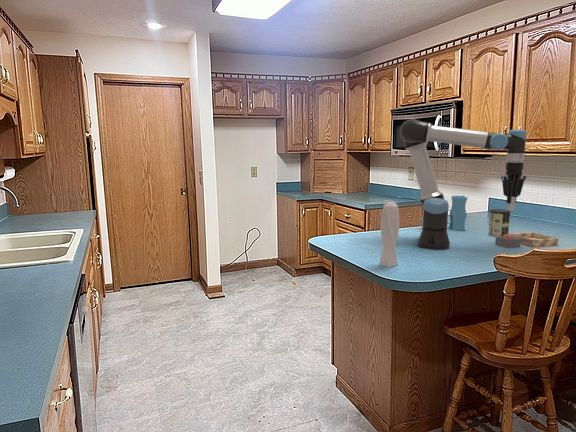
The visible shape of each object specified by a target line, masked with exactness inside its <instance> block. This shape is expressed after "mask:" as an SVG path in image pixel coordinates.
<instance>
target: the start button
mask: <svg viewBox="0 0 576 432" xmlns="http://www.w3.org/2000/svg"><path fill="white" fill-rule="evenodd" d="M503 238H505V239H513V235H507V234H505V235H504V236H503Z"/></svg>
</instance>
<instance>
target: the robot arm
mask: <svg viewBox="0 0 576 432" xmlns="http://www.w3.org/2000/svg"><path fill="white" fill-rule="evenodd" d="M399 136H400V138H401V140H402V141H403V146H404V149H405V150H406V151H408V152H409V155H410V158H411V162H412V166H413V169H414V173H415V175H416V179H417V183H418V186H419V189H420V193H421V197H420V203H421V207H422V227H421V228H422V229H421V233H420V235H419V237H418V240H417V246H418V247H420V248H423V249H428V250H437V251H438V250H447V249H450V245H451V243H450V239H449V238H450V237H449V235H448V219H449V218H448V217H449V208H450V205H449V201H448V200H446V199H445V197H444V194H443V193H444V192H442V191H440V190H439V186H438V183H437V179H436V176H435V173H434V169H433V166H432V163H431V159H430V156H429V153H428V150H427V146H428V143H429V142H434V143H440V144H441V143H442V144H450V145H456V146H465V147H470V148H471V147H472V148H480V149H482V150H488V151H489V150H492V151H493V150H494V151H501V150H507V151H506V164H505V170H506V172H505V174H504V175H502V176H500V179H501V182H502V190H503V191H502V192H503V196H505V197H506V203H507V205H506V210H509V211H515V206H516V203H517V198H519V196H521V194H522V191H523V190H522V189H523V187H524V183H525V180H526V179H527V176H526V175H523V170H524V163H523V162H524V161H525V150H526V143H527V142H526V141H527V131H526V130H525V129H510V130H509V131H508V133H503V132H501V133H500V132H489V131H482V130H474V129H465V128H457V127H450V126H441V125H440V126H439V125H433V124H432V123H431V122H426V121H421V120H419V119H415V118H414V119H413V118H411V119H408V120H407V119H406V120H405V121H404V122H403V123H402V124H401V125H400V128H399Z"/></svg>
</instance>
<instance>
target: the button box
mask: <svg viewBox="0 0 576 432" xmlns="http://www.w3.org/2000/svg"><path fill="white" fill-rule="evenodd" d="M494 242H495V244H494V245H497V246H499V247H501V248H502V247H503V248H506V249H507V248H509V249H511V248H512V249H513V248H521V245H522V244H521V239H519V238H515V237H513V239H505V238H503V236H497V237H495V240H494Z"/></svg>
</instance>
